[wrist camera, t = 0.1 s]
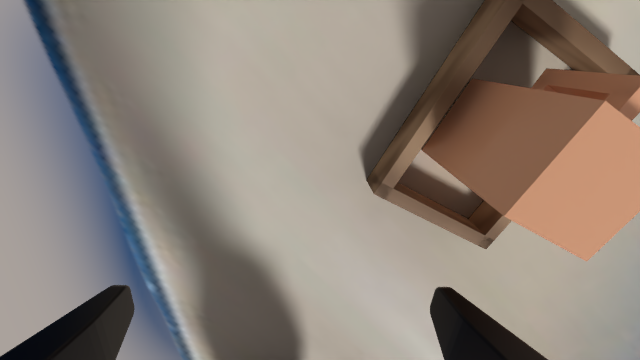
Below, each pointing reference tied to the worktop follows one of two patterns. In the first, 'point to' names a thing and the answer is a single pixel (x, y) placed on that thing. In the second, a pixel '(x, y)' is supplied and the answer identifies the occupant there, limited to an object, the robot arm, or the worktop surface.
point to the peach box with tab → (549, 153)
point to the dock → (477, 40)
